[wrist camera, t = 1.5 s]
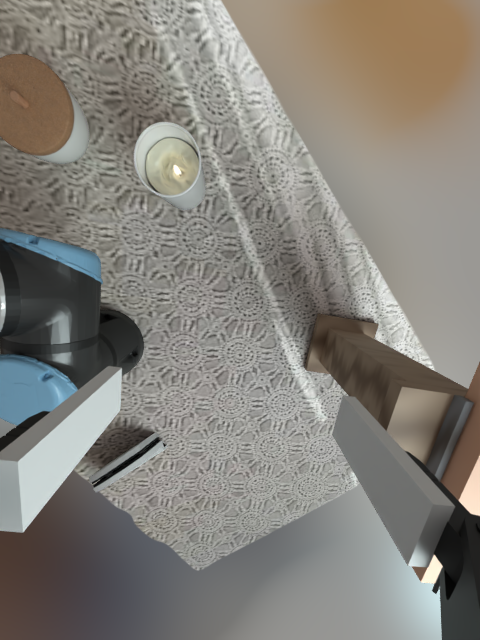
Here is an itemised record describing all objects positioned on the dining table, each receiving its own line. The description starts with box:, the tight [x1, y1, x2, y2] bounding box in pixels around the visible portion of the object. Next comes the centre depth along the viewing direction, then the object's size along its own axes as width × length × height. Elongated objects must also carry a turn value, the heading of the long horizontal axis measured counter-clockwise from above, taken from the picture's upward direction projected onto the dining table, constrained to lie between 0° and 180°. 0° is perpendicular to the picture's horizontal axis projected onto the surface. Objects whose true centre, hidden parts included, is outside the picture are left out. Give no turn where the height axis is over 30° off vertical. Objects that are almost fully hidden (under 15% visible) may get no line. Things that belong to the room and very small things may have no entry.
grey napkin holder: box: [89, 432, 168, 492], centre depth 55 cm, size 17×5×10 cm, turn 125°
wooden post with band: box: [305, 314, 474, 482], centre depth 38 cm, size 13×16×31 cm
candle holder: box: [134, 122, 206, 210], centre depth 40 cm, size 10×10×12 cm
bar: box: [412, 362, 480, 584], centre depth 23 cm, size 24×3×3 cm, turn 171°
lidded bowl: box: [0, 54, 90, 164], centre depth 38 cm, size 13×13×11 cm
